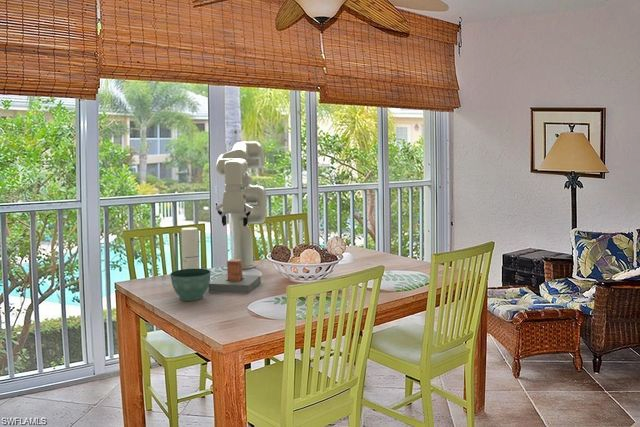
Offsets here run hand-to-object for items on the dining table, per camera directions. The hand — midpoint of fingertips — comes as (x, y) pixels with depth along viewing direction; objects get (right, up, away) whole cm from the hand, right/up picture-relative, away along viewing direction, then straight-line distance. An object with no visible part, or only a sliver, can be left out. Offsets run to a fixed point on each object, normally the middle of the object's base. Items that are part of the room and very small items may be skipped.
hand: (234, 225), depth 279 cm
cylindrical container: (-20, -26, -1) cm, 33 cm away
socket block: (+1, -27, -9) cm, 29 cm away
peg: (+1, -27, -9) cm, 29 cm away
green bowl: (-14, -30, -26) cm, 42 cm away
